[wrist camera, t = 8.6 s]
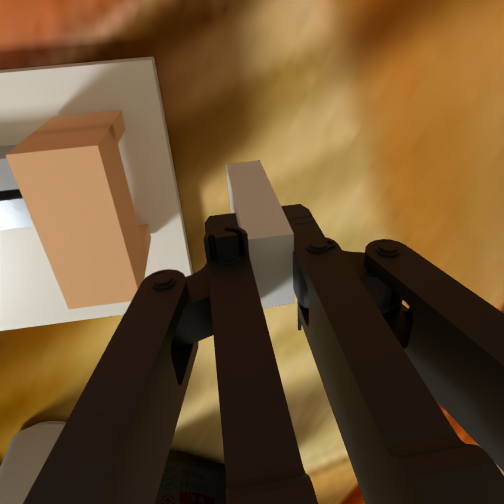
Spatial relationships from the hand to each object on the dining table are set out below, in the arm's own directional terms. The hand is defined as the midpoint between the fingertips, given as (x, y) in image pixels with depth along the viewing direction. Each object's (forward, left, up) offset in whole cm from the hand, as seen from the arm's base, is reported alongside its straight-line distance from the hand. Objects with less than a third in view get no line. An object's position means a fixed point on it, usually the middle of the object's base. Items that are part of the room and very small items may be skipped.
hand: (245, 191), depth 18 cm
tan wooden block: (+7, +1, -6) cm, 9 cm away
